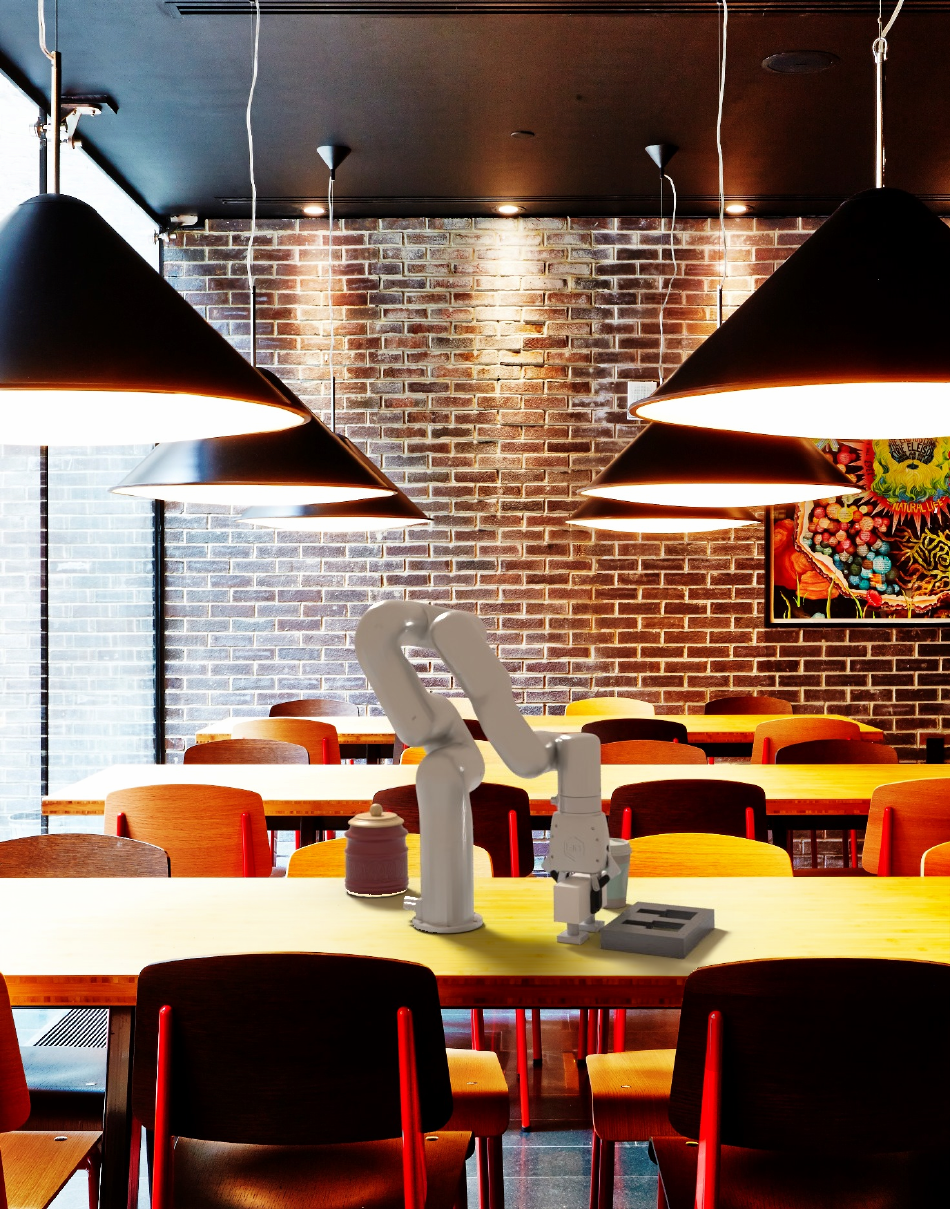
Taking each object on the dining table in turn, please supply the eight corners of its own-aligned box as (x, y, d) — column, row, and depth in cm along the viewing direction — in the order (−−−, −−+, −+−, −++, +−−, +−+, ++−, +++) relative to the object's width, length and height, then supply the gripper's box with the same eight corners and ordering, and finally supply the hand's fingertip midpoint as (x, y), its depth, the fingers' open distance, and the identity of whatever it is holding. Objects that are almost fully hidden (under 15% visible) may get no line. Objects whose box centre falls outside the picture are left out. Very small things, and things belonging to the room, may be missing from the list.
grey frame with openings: (600, 948, 183) (600, 929, 183) (637, 919, 201) (637, 901, 201) (683, 958, 177) (683, 938, 177) (714, 927, 195) (714, 909, 195)
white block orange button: (554, 943, 186) (553, 882, 187) (583, 922, 199) (582, 865, 199) (579, 946, 184) (578, 884, 185) (607, 925, 197) (606, 867, 197)
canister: (414, 884, 230) (413, 799, 231) (401, 899, 217) (400, 809, 218) (353, 883, 232) (353, 798, 233) (337, 898, 219) (336, 808, 220)
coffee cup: (631, 911, 206) (630, 846, 207) (585, 909, 208) (584, 845, 208) (634, 900, 215) (633, 838, 215) (590, 898, 216) (589, 836, 217)
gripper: (526, 805, 192) (527, 911, 192) (619, 811, 185) (620, 921, 185) (542, 799, 199) (544, 901, 199) (633, 804, 192) (634, 910, 191)
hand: (581, 909), depth 192 cm, fingers closed on white block orange button, 4 cm apart
